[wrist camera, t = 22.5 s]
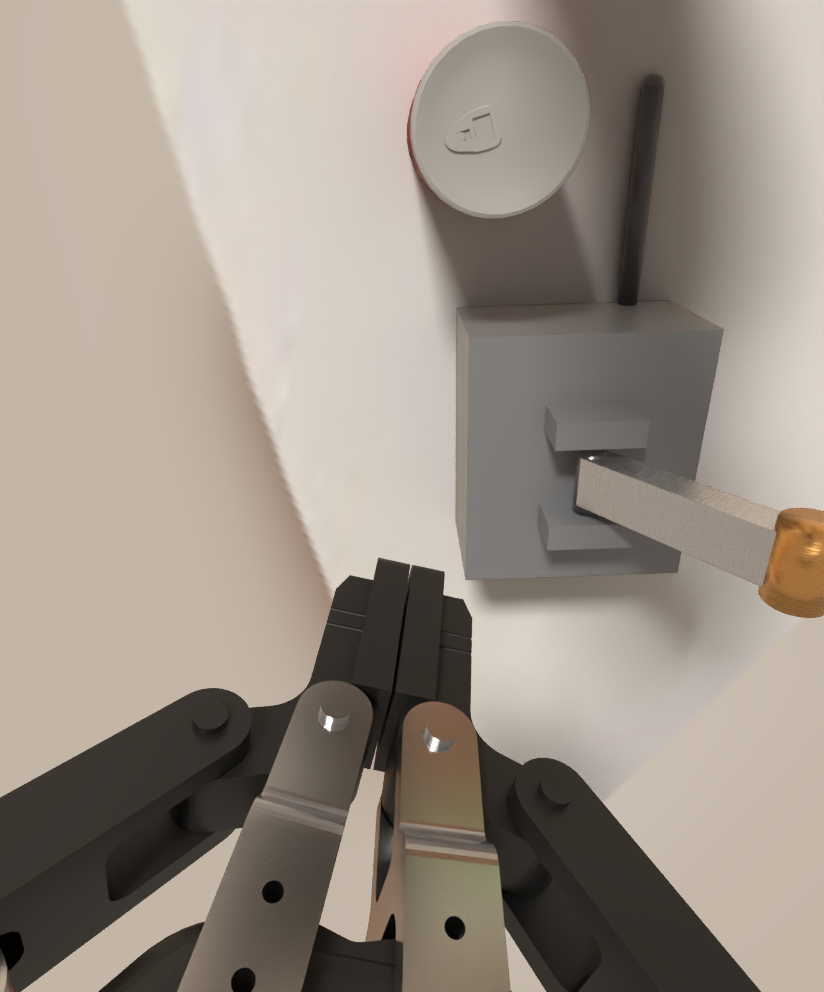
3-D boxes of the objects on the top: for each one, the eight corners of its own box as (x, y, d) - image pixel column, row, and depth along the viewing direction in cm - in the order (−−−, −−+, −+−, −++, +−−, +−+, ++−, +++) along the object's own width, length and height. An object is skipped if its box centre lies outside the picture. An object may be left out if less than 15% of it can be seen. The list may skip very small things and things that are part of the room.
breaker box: (457, 80, 37) (479, 55, 28) (703, 73, 37) (812, 45, 28) (455, 520, 51) (470, 608, 41) (637, 513, 51) (695, 599, 41)
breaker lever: (564, 448, 37) (837, 549, 27) (597, 434, 39) (866, 525, 29) (559, 510, 39) (812, 626, 29) (590, 494, 41) (841, 599, 31)
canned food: (380, 110, 38) (376, 96, 28) (502, 20, 36) (542, -29, 26) (448, 231, 41) (466, 255, 31) (564, 153, 39) (621, 153, 29)
